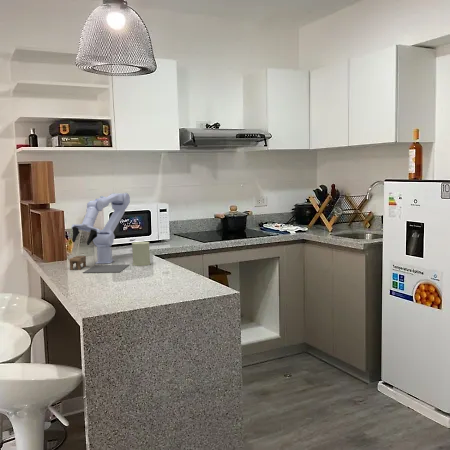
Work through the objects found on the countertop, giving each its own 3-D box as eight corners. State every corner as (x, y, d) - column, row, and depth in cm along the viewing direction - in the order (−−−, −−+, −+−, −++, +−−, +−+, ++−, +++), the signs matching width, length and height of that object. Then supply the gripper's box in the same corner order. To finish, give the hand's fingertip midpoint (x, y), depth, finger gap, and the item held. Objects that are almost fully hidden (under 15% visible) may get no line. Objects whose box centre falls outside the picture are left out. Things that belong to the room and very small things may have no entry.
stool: (76, 266, 267) (76, 256, 266) (86, 266, 266) (85, 255, 266) (70, 270, 257) (69, 259, 256) (79, 269, 256) (79, 258, 256)
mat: (95, 265, 267) (95, 265, 267) (129, 265, 266) (129, 264, 266) (83, 273, 247) (82, 272, 247) (119, 272, 246) (119, 271, 246)
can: (133, 266, 262) (132, 243, 261) (131, 263, 271) (130, 241, 270) (151, 265, 265) (150, 242, 264) (149, 262, 274) (148, 240, 273)
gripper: (74, 213, 261) (64, 236, 254) (101, 218, 260) (92, 241, 253) (77, 221, 267) (68, 243, 260) (103, 225, 266) (95, 248, 259)
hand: (80, 242), depth 257 cm, fingers open, 7 cm apart
